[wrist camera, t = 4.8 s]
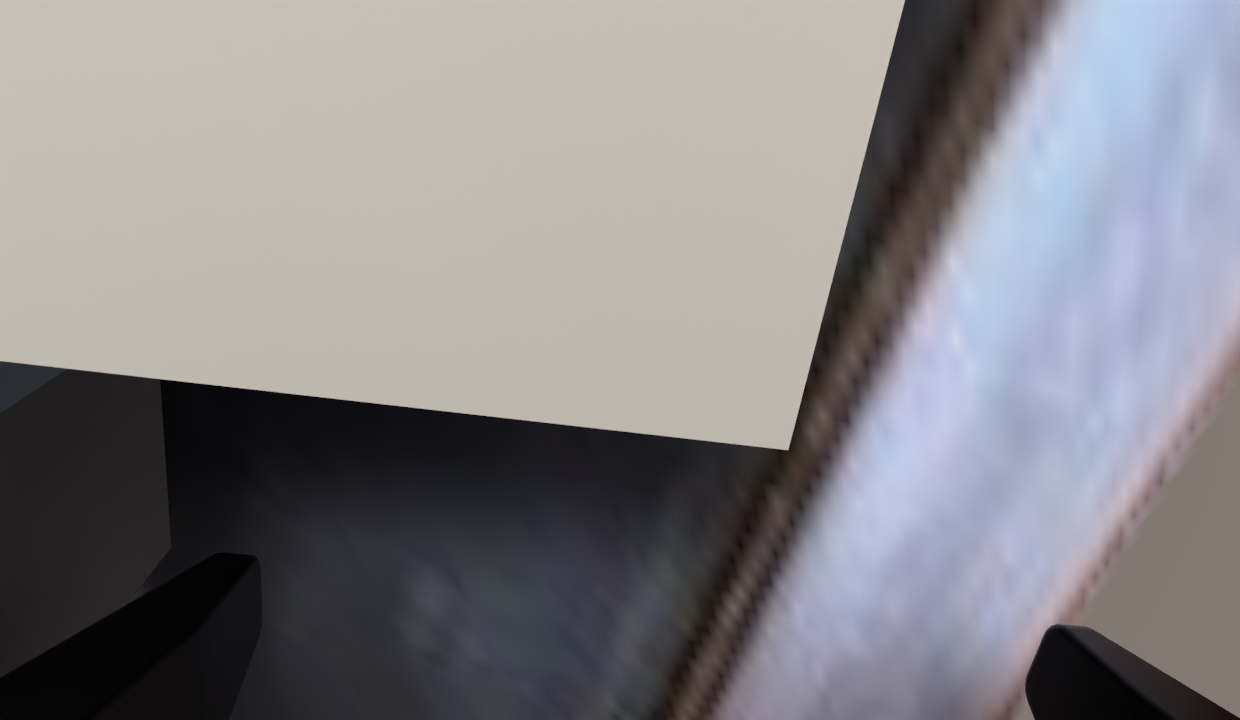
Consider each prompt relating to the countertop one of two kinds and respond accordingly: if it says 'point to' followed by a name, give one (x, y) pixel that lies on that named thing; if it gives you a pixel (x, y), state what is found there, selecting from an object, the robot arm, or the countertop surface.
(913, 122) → the countertop surface
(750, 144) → the camera housing
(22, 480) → the grey l-shaped block
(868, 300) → the countertop surface
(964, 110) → the countertop surface
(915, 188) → the countertop surface
